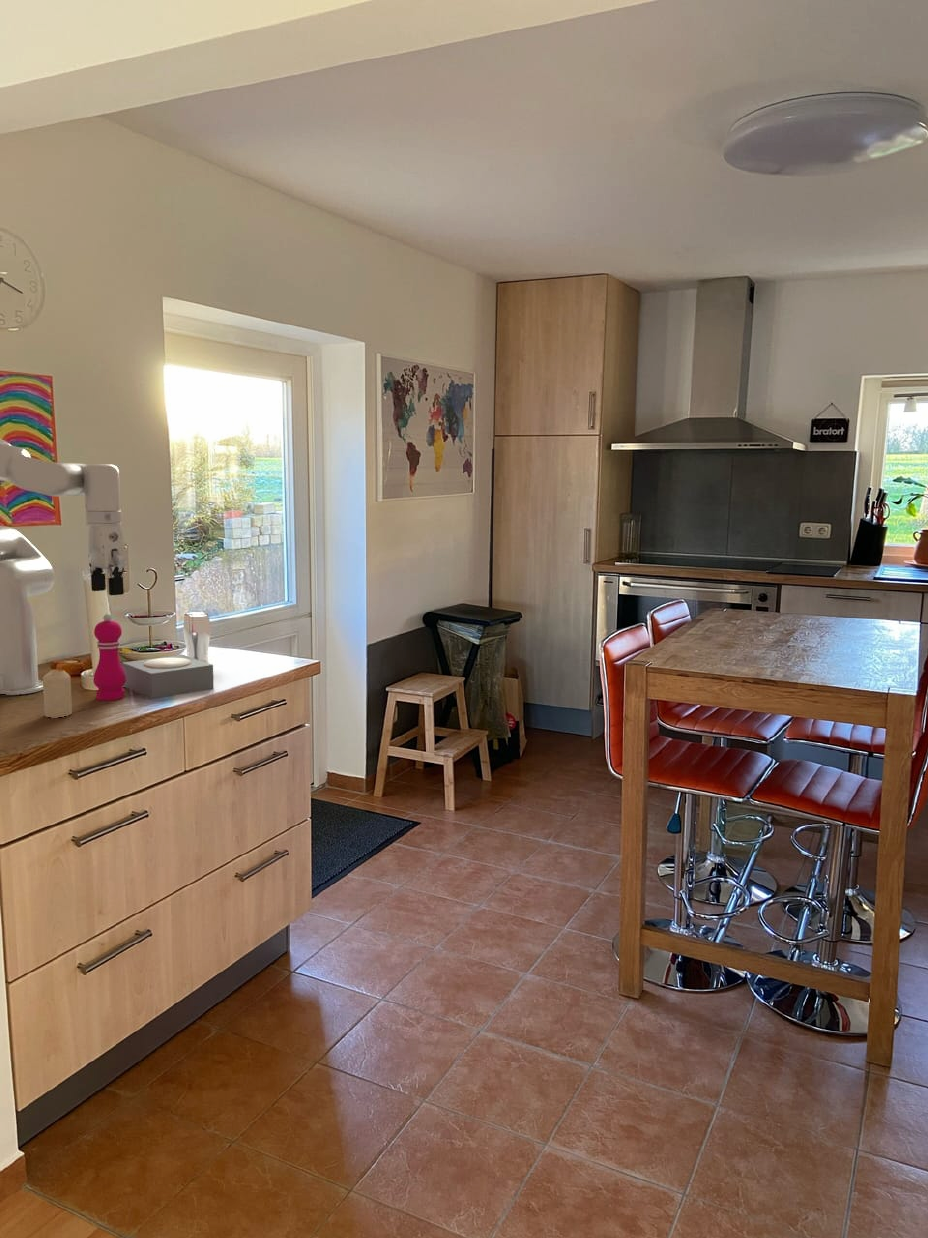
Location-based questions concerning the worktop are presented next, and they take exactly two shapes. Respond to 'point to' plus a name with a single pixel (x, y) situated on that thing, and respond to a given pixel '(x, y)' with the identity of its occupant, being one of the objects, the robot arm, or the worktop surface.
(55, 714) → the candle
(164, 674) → the riser
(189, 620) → the beer glass
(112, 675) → the pepper mill
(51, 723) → the worktop surface
